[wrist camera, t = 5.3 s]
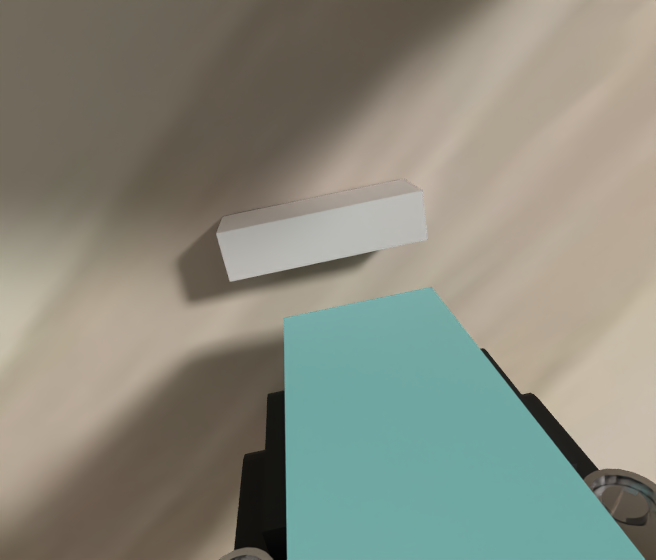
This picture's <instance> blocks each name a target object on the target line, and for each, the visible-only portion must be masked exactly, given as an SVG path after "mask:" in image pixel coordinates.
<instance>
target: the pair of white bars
mask: <svg viewBox="0 0 656 560" xmlns="http://www.w3.org/2000/svg"><path fill="white" fill-rule="evenodd" d="M216 236H217V239H218V243H219V246H220V249H221V253H222V256H223V260H224V263H225V267H226V270H227V274H228V277H229V281H230V282H232V281H236V280H241V279H246V278H250V277H255V276H260V275H264V274H269V273H274V272H278V271H283V270H288V269H292V268H297V267H302V266H307V265H311V264H316V263H321V262H325V261H330V260H335V259H339V258H344V257H349V256H353V255H358V254H363V253H368V252H372V251H377V250H382V249H386V248H391V247H396V246H400V245H405V244H410V243H414V242H419V241H424V240H428V236H427V227H426V218H425V208H424V199H423V190H421V189H420V188H418V187H417V186H415V185H413V184H412V183H410V182H409V181H407V180H406V179H401V180H396V181H391V182H386V183H381V184H377V185H372V186H367V187H362V188H357V189H353V190H348V191H343V192H338V193H333V194H329V195H324V196H319V197H314V198H309V199H305V200H300V201H295V202H290V203H285V204H281V205H276V206H271V207H266V208H261V209H257V210H252V211H247V212H242V213H237V214H233V215H228V216H223V217H222V220H221V222H220V225H219V227H218V230H217V232H216Z"/></svg>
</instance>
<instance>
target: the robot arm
mask: <svg viewBox="0 0 656 560" xmlns="http://www.w3.org/2000/svg"><path fill="white" fill-rule="evenodd" d="M480 350H481V351H482V352H483V353H484V355H485V356H486V357H487V358H488V360H489V361H490V362H491V364H492V365H493V366H494V367H495V369H496V370H497V371H498V372H499V374H500V375H501V376H502V378H503V379H504V380H505V381H506V383H507V384H508V385H509V386H510V388H511V389H512V390H513V392H514V393H515V394H516V395H517V397H518V398H519V399H520V400H521V402H522V403H523V404H524V406H525V407H526V408H527V409H528V411H529V412H530V413H531V414H532V416H533V417H534V418H535V420H536V421H537V422H538V423H539V425H540V426H541V427H542V428H543V430H544V431H545V432H546V434H547V435H548V436H549V437H550V439H551V440H552V441H553V442H554V444H555V445H556V446H557V448H558V449H559V450H560V451H561V453H562V454H563V455H564V456H565V458H566V459H567V460H568V462H569V463H570V464H571V465H572V467H573V468H574V469H575V470H576V472H577V473H578V474H579V476H580V477H581V478H582V479H583V481H584V482H585V483H586V484H587V486H588V487H589V488H590V490H591V491H592V492H593V493H594V495H595V496H596V497H597V499H598V500H599V501H600V502H601V504H602V505H603V506H604V507H605V509H606V510H607V511H608V513H609V514H610V515H611V516H612V518H613V519H614V520H615V521H616V523H617V524H618V525H619V527H620V528H621V529H622V530H623V532H624V533H625V534H626V535H627V537H628V538H629V539H630V541H631V542H632V543H633V544H634V546H635V547H636V548H637V549H638V551H639V552H640V553H641V555H642V556H643V557H644V558H645V560H656V484H654V483H653V482H652V481H650V480H649V479H647V478H645V477H643V476H640V475H638V474H636V473H634V472H629V471H625V470H621V469H603V470H598V468H597V467H596V466H595V465H594V464H593V462H592V461H591V460H590V459H589V458H588V457H587V455H586V454H585V453H584V452H583V451H582V450H581V448H580V447H579V446H578V445H577V444H576V442H575V441H574V440H573V439H572V438H571V437H570V435H569V434H568V433H567V432H566V431H565V429H564V428H563V427H562V426H561V425H560V424H559V422H558V421H557V420H556V419H555V418H554V416H553V415H552V414H551V413H550V412H549V411H548V409H547V408H546V407H545V406H544V405H543V404H542V402H541V401H540V400H539V399H538V398H537V397H536V396H535V395H534V394H532V393H527V394H523V395H522V394H521V393H520V392H519V391H518V389H517V388H516V387H515V386H514V384H513V383H512V382H511V381H510V379H509V378H508V377H507V376H506V374H505V373H504V372H503V371H502V369H501V368H500V367H499V366H498V364H497V363H496V362H495V361H494V360H493V358H492V357H491V356H490V355H489V353H488V352H487V351H486V350H485V349H483V348H482V349H480ZM219 560H287V519H286V446H285V390H284V391H280V392H275V393H270V394H268V397H267V419H266V443H265V450H262V451H258V452H253V453H248V454H245V456H244V459H243V467H242V477H241V487H240V497H239V507H238V517H237V527H236V537H235V546H234V551H232V552H230V553H228V554H226V555H224V556H223V557H221V558H220V559H219Z"/></svg>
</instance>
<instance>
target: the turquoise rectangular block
mask: <svg viewBox="0 0 656 560" xmlns="http://www.w3.org/2000/svg"><path fill="white" fill-rule="evenodd" d="M284 373H285V446H286V519H287V560H645V558H644V557H643V556H642V555H641V553H640V552H639V551H638V549H637V548H636V547H635V546H634V544H633V543H632V542H631V541H630V539H629V538H628V537H627V535H626V534H625V533H624V532H623V530H622V529H621V528H620V527H619V525H618V524H617V523H616V521H615V520H614V519H613V518H612V516H611V515H610V514H609V513H608V511H607V510H606V509H605V507H604V506H603V505H602V504H601V502H600V501H599V500H598V499H597V497H596V496H595V495H594V493H593V492H592V491H591V490H590V488H589V487H588V486H587V484H586V483H585V482H584V481H583V479H582V478H581V477H580V476H579V474H578V473H577V472H576V470H575V469H574V468H573V467H572V465H571V464H570V463H569V462H568V460H567V459H566V458H565V456H564V455H563V454H562V453H561V451H560V450H559V449H558V448H557V446H556V445H555V444H554V442H553V441H552V440H551V439H550V437H549V436H548V435H547V434H546V432H545V431H544V430H543V428H542V427H541V426H540V425H539V423H538V422H537V421H536V420H535V418H534V417H533V416H532V414H531V413H530V412H529V411H528V409H527V408H526V407H525V406H524V404H523V403H522V402H521V400H520V399H519V398H518V397H517V395H516V394H515V393H514V392H513V390H512V389H511V388H510V386H509V385H508V384H507V383H506V381H505V380H504V379H503V378H502V376H501V375H500V374H499V372H498V371H497V370H496V369H495V367H494V366H493V365H492V364H491V362H490V361H489V360H488V358H487V357H486V356H485V355H484V353H483V352H482V351H481V350H480V348H479V347H478V346H477V344H476V343H475V342H474V341H473V339H472V338H471V337H470V336H469V334H468V333H467V332H466V330H465V329H464V328H463V327H462V325H461V324H460V323H459V321H458V320H457V319H456V318H455V316H454V315H453V314H452V313H451V311H450V310H449V309H448V307H447V306H446V305H445V304H444V302H443V301H442V300H441V299H440V297H439V296H438V295H437V293H436V292H435V291H434V290H433V288H432V287H429V288H424V289H420V290H415V291H410V292H405V293H400V294H396V295H391V296H386V297H381V298H377V299H372V300H367V301H362V302H358V303H353V304H348V305H343V306H338V307H334V308H329V309H324V310H319V311H315V312H310V313H305V314H300V315H296V316H291V317H286V318H284Z"/></svg>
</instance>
